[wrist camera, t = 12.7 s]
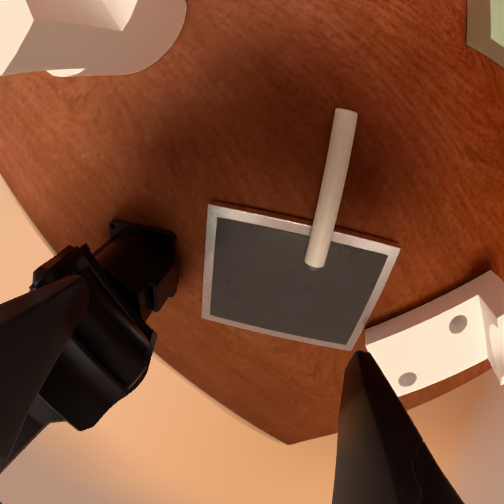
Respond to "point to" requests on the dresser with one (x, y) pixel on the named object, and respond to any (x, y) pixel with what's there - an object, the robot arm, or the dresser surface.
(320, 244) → the stylus
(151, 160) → the dresser surface
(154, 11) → the cylinder with rectangular tab
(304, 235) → the tablet
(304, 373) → the dresser surface
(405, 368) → the bracket
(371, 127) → the dresser surface
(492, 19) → the pen stand
